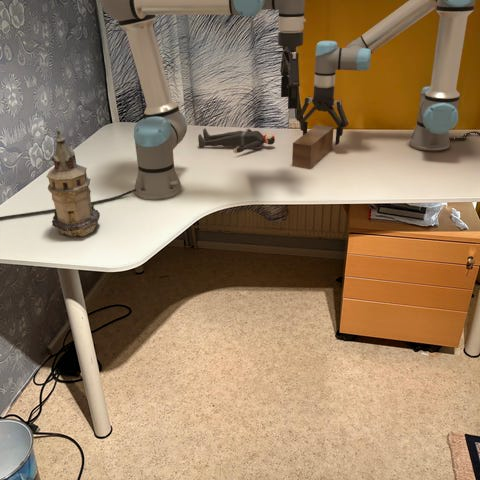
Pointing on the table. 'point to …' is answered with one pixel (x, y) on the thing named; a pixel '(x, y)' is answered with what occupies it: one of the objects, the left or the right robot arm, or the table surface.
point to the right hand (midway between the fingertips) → (320, 141)
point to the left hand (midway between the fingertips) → (288, 102)
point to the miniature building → (70, 193)
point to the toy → (236, 139)
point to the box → (312, 146)
